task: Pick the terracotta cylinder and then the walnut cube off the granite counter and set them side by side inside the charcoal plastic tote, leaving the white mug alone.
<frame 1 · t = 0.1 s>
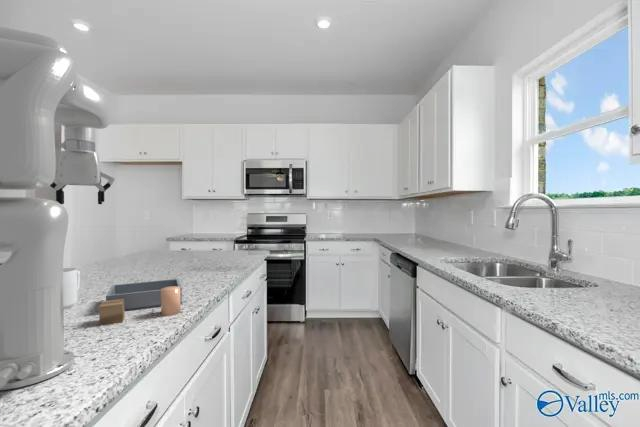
hand: (81, 204, 96), 31 cm above the countertop, tool pointing down, fingers open, 9 cm apart
mug: (63, 306, 96), on the countertop
terracotta cylinder: (171, 312, 89), on the countertop
walnut cube: (112, 321, 83), on the countertop
tote: (146, 302, 100), on the countertop
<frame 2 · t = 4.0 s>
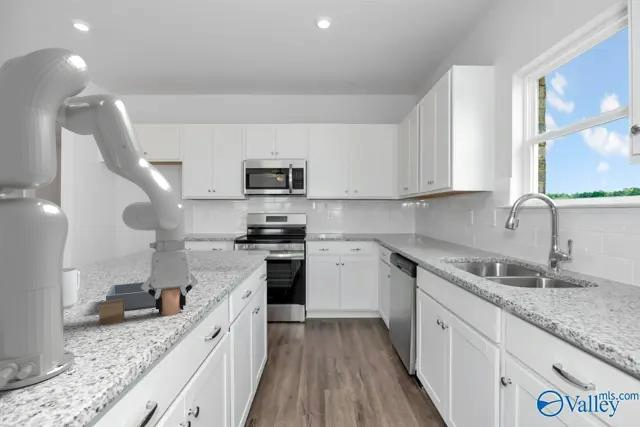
hand: (171, 309, 89), 1 cm above the countertop, tool pointing down, fingers closed on terracotta cylinder, 5 cm apart
terracotta cylinder: (171, 312, 89), on the countertop, touching gripper
everything else where it was.
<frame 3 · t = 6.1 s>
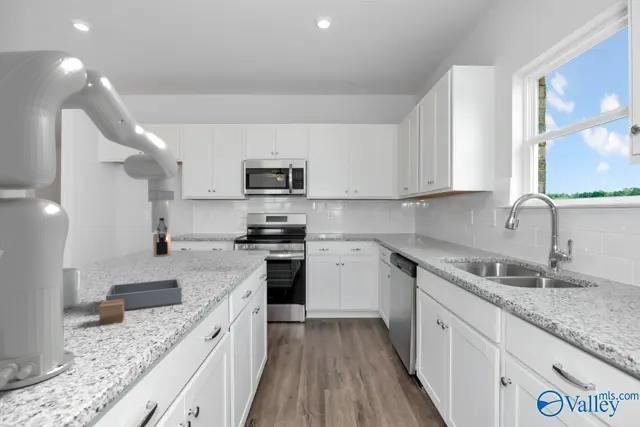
hand: (161, 252, 101), 15 cm above the countertop, tool pointing down, fingers closed on terracotta cylinder, 5 cm apart
terracotta cylinder: (162, 255, 101), point 14 cm above the countertop, touching gripper
everything else where it was.
when the fingers open (4 cm above the countertop, at t = 8.5 s): terracotta cylinder drops 3 cm, resting on tote.
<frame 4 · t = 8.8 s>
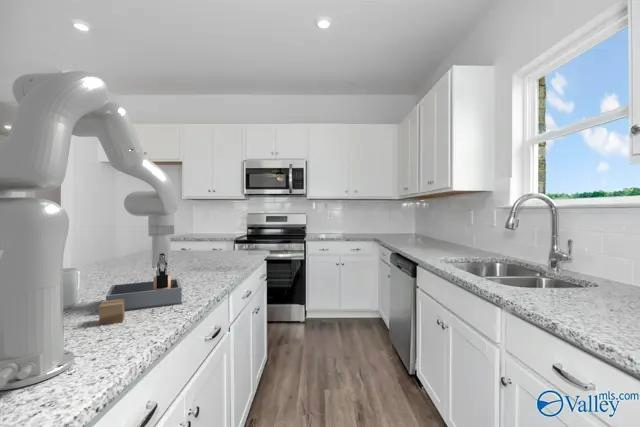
hand: (162, 284, 102), 5 cm above the countertop, tool pointing down, fingers open, 8 cm apart
terracotta cylinder: (162, 298, 102), point 1 cm above the countertop, touching tote
everything else where it was.
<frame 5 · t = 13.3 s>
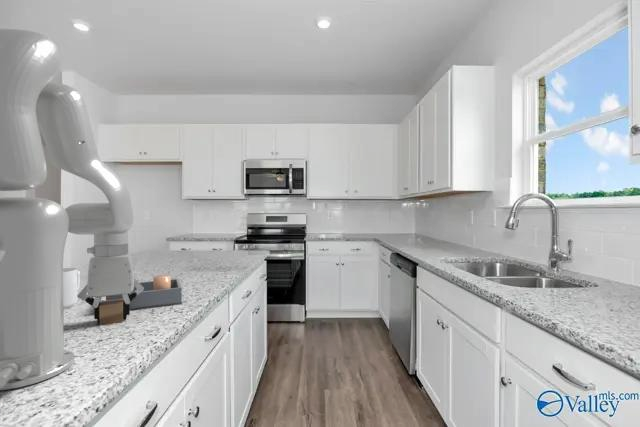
hand: (112, 319, 83), 0 cm above the countertop, tool pointing down, fingers closed on walnut cube, 5 cm apart
walnut cube: (112, 320, 83), on the countertop, touching gripper
everything else where it was.
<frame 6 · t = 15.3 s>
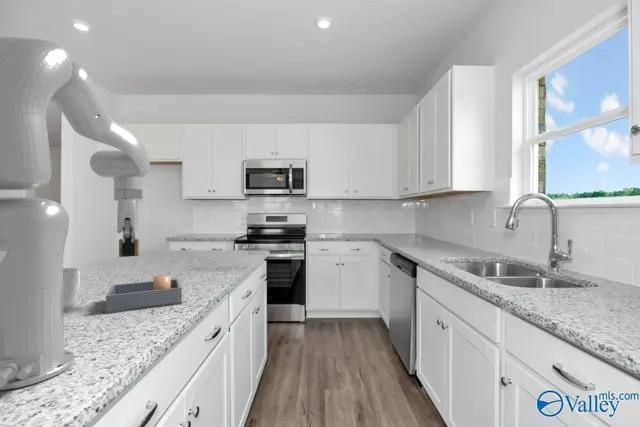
hand: (129, 253, 97), 16 cm above the countertop, tool pointing down, fingers closed on walnut cube, 5 cm apart
walnut cube: (129, 255, 97), point 15 cm above the countertop, touching gripper
everything else where it was.
when the fingers open (4 cm above the countertop, at t = 17.8 s): walnut cube drops 3 cm, resting on tote.
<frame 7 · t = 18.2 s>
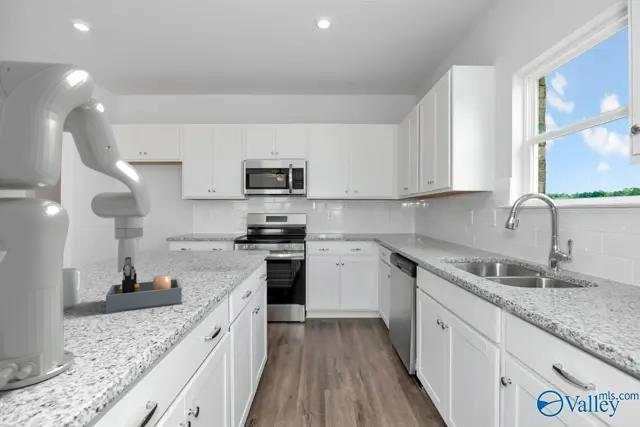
hand: (129, 289, 97), 5 cm above the countertop, tool pointing down, fingers open, 9 cm apart
walnut cube: (129, 302, 97), point 1 cm above the countertop, touching tote
everything else where it was.
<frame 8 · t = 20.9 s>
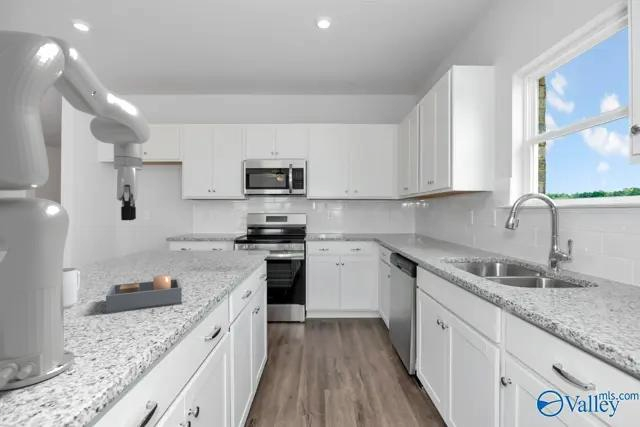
hand: (128, 219, 97), 26 cm above the countertop, tool pointing down, fingers open, 9 cm apart
nothing on the countertop moved.
at the end: terracotta cylinder inside the target area on the tote (4.5 cm from its centre), point 0.6 cm above the tote's base; walnut cube inside the target area on the tote (4.5 cm from its centre), point 0.6 cm above the tote's base; the gripper is holding nothing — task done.
